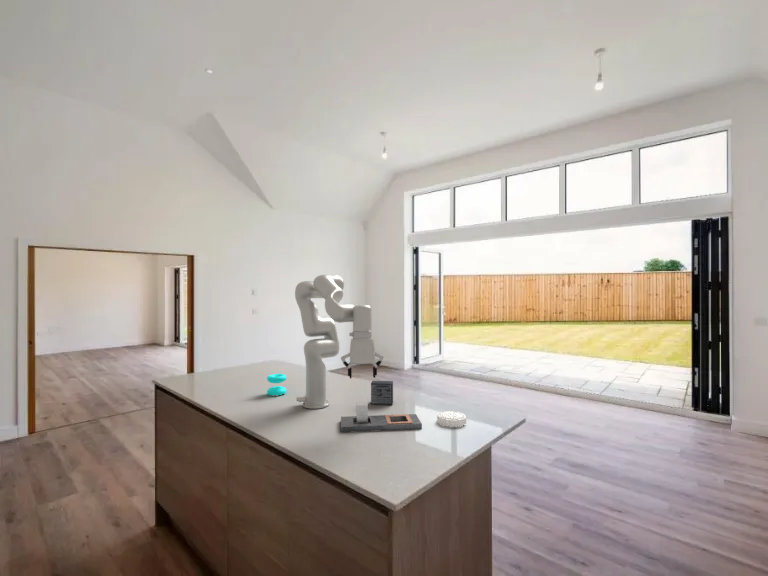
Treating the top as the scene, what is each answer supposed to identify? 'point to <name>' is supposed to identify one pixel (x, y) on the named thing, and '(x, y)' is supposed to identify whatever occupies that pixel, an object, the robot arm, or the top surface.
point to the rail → (381, 423)
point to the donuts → (276, 389)
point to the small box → (382, 392)
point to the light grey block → (361, 413)
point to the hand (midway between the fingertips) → (362, 377)
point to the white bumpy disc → (451, 418)
